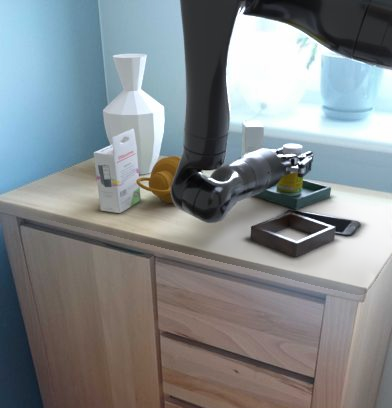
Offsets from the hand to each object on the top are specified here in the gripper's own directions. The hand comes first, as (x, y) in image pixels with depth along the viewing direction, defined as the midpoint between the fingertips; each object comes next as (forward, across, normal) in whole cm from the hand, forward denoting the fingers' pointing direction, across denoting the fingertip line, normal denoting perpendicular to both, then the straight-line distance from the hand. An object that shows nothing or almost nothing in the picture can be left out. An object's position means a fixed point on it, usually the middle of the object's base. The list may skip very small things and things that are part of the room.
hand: (297, 154), depth 117 cm
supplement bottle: (-3, 0, +8) cm, 8 cm away
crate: (-23, -13, +8) cm, 27 cm away
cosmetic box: (+3, +13, +8) cm, 16 cm away
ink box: (-28, +25, +8) cm, 39 cm away
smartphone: (-13, -13, +9) cm, 20 cm away
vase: (-8, +40, +8) cm, 41 cm away
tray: (-2, 0, +8) cm, 8 cm away
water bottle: (-18, +18, +8) cm, 27 cm away
